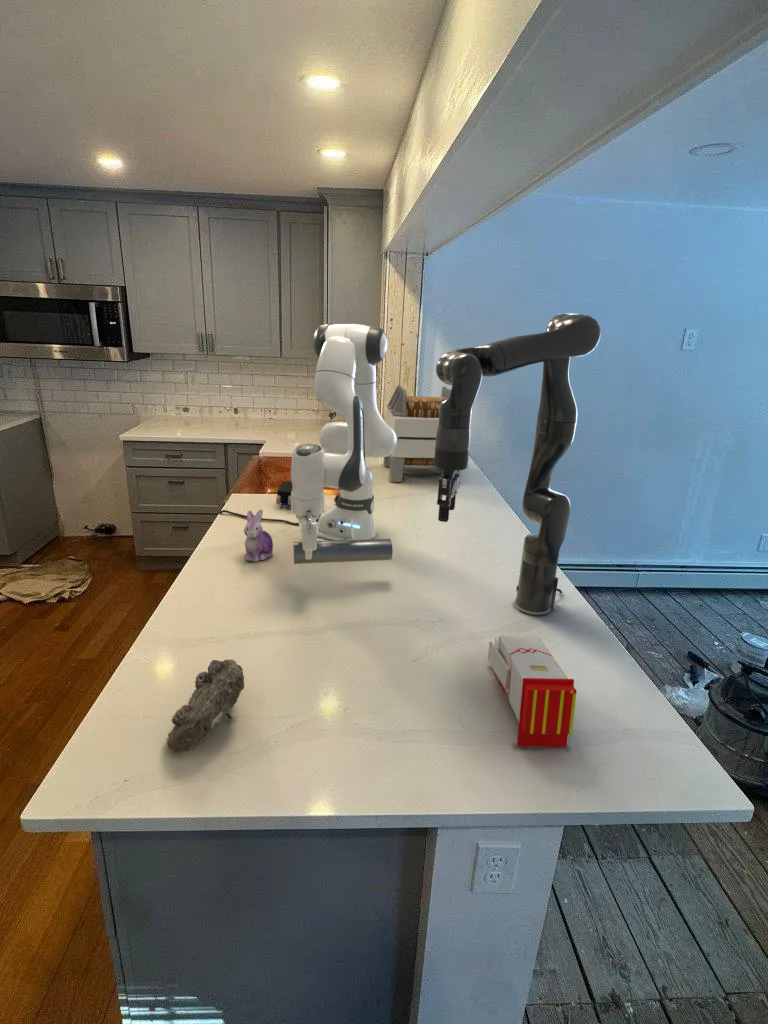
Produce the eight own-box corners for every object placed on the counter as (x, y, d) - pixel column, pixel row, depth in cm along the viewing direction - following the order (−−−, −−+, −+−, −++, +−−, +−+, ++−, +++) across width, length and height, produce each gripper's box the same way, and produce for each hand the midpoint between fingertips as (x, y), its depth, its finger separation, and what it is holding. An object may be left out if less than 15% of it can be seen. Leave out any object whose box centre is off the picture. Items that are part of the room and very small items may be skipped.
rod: (294, 567, 154) (294, 547, 152) (293, 558, 159) (293, 538, 157) (392, 563, 159) (393, 543, 157) (387, 554, 165) (388, 535, 163)
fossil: (192, 660, 117) (244, 628, 112) (224, 691, 120) (276, 661, 115) (142, 746, 98) (202, 712, 93) (182, 779, 101) (242, 748, 96)
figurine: (248, 564, 171) (246, 518, 166) (239, 551, 179) (237, 507, 174) (278, 559, 175) (277, 514, 170) (269, 547, 183) (267, 503, 178)
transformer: (382, 463, 289) (386, 382, 275) (445, 464, 293) (451, 384, 279) (390, 482, 257) (394, 392, 243) (460, 483, 261) (468, 394, 247)
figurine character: (293, 513, 218) (297, 497, 231) (292, 495, 215) (297, 480, 228) (275, 513, 218) (281, 496, 231) (274, 495, 214) (280, 479, 228)
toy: (536, 619, 129) (586, 686, 99) (531, 673, 131) (578, 754, 102) (483, 618, 128) (517, 685, 99) (479, 672, 131) (511, 753, 102)
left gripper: (323, 518, 143) (322, 568, 147) (316, 494, 162) (316, 539, 166) (297, 518, 142) (297, 569, 146) (294, 494, 161) (294, 539, 165)
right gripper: (464, 455, 117) (457, 527, 123) (473, 441, 130) (467, 507, 136) (429, 451, 119) (424, 523, 125) (441, 438, 132) (436, 503, 138)
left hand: (307, 553), depth 156 cm, fingers closed on rod, 6 cm apart
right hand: (446, 515), depth 130 cm, fingers open, 8 cm apart
